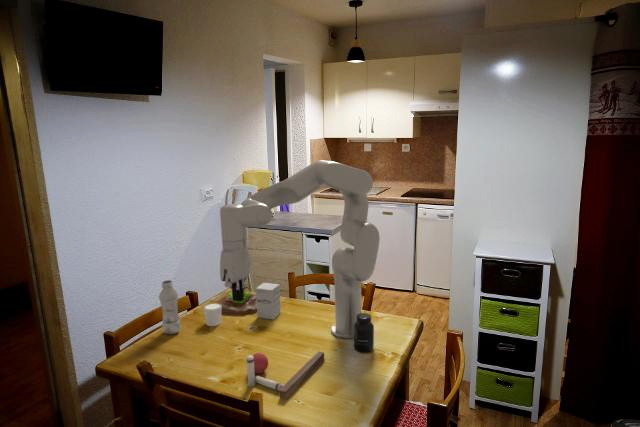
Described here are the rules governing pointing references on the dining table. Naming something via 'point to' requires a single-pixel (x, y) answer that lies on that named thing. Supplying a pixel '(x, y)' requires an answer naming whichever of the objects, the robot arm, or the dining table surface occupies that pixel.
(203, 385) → the dining table surface
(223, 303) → the plant
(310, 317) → the dining table surface
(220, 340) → the dining table surface
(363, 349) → the supplement bottle
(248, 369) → the side pin
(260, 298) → the supplement box
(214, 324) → the white cup
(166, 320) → the plastic bottle
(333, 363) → the dining table surface
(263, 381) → the pin
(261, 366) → the ball
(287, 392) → the back wall
